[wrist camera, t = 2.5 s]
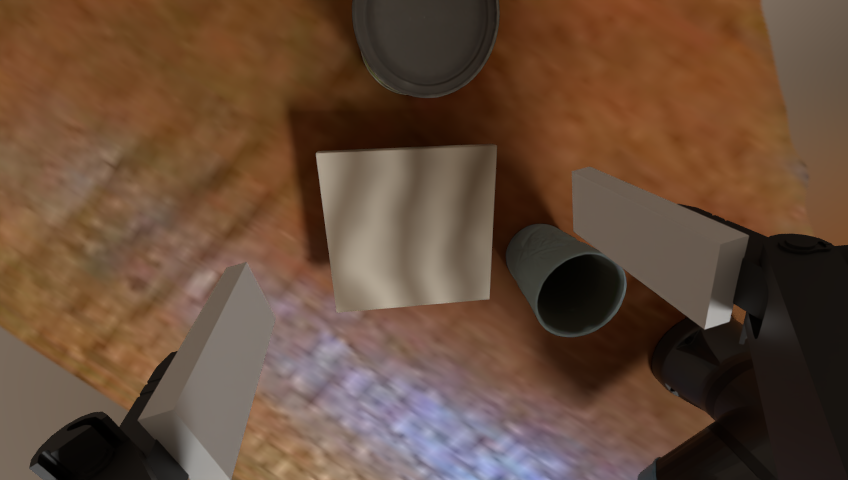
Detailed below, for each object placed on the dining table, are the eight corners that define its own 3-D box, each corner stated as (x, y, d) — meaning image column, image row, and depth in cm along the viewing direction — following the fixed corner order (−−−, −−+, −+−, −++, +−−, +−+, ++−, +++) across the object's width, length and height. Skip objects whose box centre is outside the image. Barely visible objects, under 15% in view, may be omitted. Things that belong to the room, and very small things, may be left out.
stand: (481, 138, 43) (497, 145, 37) (476, 276, 50) (489, 299, 44) (323, 145, 41) (315, 153, 35) (340, 287, 48) (336, 312, 42)
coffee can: (385, 111, 41) (391, 121, 28) (341, 10, 37) (323, -34, 24) (471, 71, 40) (518, 62, 27) (436, -35, 36) (470, -106, 23)
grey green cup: (521, 297, 52) (561, 353, 41) (484, 246, 48) (517, 292, 37) (583, 256, 51) (641, 301, 40) (549, 200, 47) (604, 233, 36)
